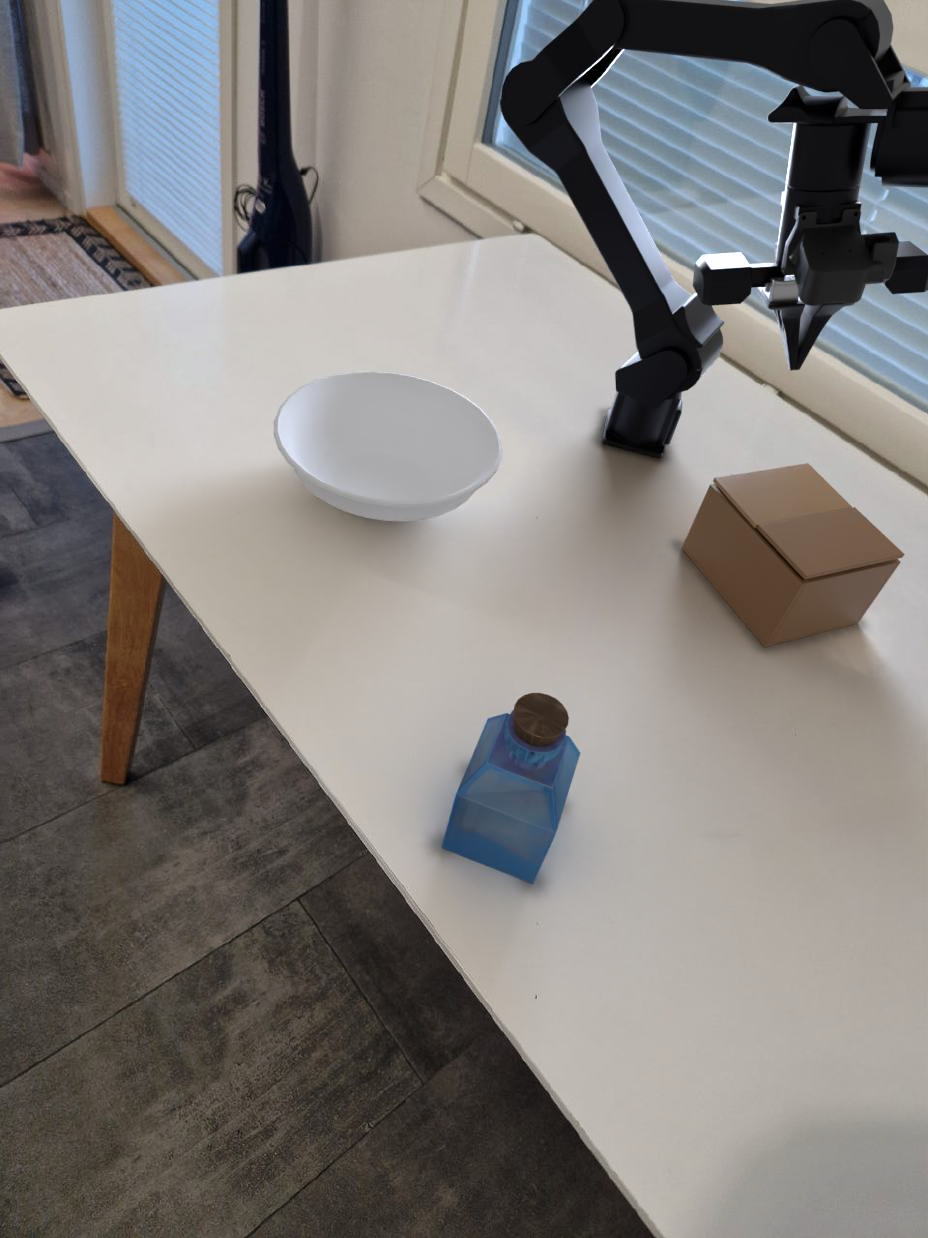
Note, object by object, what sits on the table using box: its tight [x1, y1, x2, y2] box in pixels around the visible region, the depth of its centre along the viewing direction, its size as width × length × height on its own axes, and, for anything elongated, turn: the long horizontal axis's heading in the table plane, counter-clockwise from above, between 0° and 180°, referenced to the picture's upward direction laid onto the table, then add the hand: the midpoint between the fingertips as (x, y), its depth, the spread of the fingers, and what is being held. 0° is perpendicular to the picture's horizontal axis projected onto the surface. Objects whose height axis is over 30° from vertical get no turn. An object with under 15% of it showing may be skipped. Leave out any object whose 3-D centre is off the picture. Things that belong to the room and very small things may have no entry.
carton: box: [681, 483, 905, 648], centre depth 76 cm, size 13×11×8 cm
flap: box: [712, 462, 853, 528], centre depth 75 cm, size 6×11×1 cm, turn 113°
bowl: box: [273, 370, 503, 522], centre depth 77 cm, size 20×20×6 cm
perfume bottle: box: [441, 692, 581, 885], centre depth 53 cm, size 6×6×12 cm
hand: (793, 368), depth 80 cm, fingers closed
